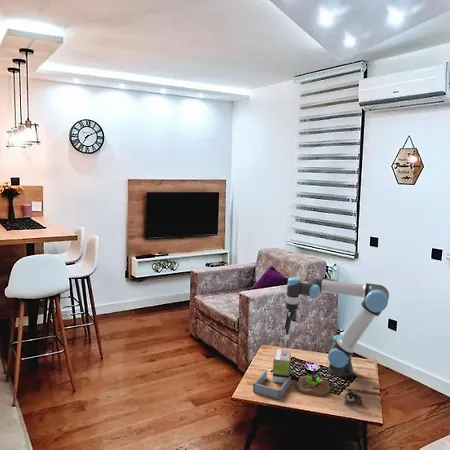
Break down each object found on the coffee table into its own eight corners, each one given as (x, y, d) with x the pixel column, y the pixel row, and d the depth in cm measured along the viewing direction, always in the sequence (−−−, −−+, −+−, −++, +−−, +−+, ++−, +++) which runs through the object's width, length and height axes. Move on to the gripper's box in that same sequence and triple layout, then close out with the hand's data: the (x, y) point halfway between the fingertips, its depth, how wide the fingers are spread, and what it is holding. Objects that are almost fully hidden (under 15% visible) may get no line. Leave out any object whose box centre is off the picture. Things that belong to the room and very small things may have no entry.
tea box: (273, 370, 288) (275, 348, 286) (289, 372, 287) (291, 350, 284) (272, 381, 274) (273, 358, 271) (288, 384, 272) (290, 360, 270)
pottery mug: (366, 408, 250) (363, 398, 246) (350, 415, 250) (347, 406, 246) (356, 392, 261) (353, 382, 257) (341, 399, 261) (338, 389, 257)
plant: (331, 382, 276) (332, 365, 275) (329, 399, 258) (331, 380, 256) (298, 377, 282) (299, 360, 280) (293, 392, 263) (295, 374, 261)
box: (290, 384, 271) (291, 376, 271) (279, 399, 255) (280, 391, 254) (265, 377, 278) (265, 370, 278) (252, 391, 262) (253, 383, 261)
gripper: (291, 295, 296) (288, 327, 300) (280, 307, 273) (278, 341, 277) (302, 297, 293) (300, 329, 297) (293, 309, 271) (290, 343, 274)
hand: (289, 335), depth 287 cm, fingers open, 13 cm apart
